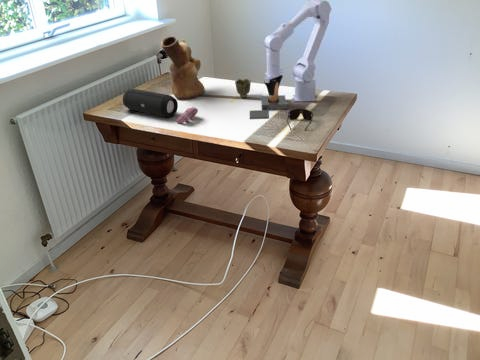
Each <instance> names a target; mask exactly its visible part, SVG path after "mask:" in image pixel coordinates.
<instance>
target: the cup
mask: <svg viewBox="0 0 480 360" xmlns="http://www.w3.org/2000/svg"><path fill="white" fill-rule="evenodd" d="M234 83H235V90H236V92H237V94H239V97H240V98H241V99H245V98H247V97H248V94H249V93H250V91H251V83H252V82H251V80H250V79H248V78H244V79H243V80H242V78H241V79H240V78H238V79H237V80H235V81H234Z"/></svg>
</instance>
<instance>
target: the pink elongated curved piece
mask: <svg viewBox="0 0 480 360" xmlns="http://www.w3.org/2000/svg"><path fill="white" fill-rule="evenodd" d="M198 112H199V109H198V108H196V107H194V106H192V107H189V108H186V109H185V111H183V112H182V113H181V115H180V116H179V117H177V119H176V122H177V123H178V124H182V123H184V122H185V123H188V122H189V121H190V120H193V119H194V117H195V116H196V115H197V114H198Z"/></svg>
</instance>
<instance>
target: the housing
mask: <svg viewBox="0 0 480 360" xmlns="http://www.w3.org/2000/svg"><path fill="white" fill-rule="evenodd" d="M260 98H261V99H260V100H261V101H260V102H261V110H268V111H282V110H287V101H286V100H287V99H286V95H285V94H284V95H278V101H276V102H271V101H269V95H261V97H260Z"/></svg>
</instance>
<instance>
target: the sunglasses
mask: <svg viewBox="0 0 480 360" xmlns="http://www.w3.org/2000/svg"><path fill="white" fill-rule="evenodd" d="M300 114H301V115H302V118H303V119H304V121H310V122H309V123H308V124H307V125H306V127H305V128H304V132H305V131H307V129H308V127H309V126H310V125H311V123H312V122H313V121H312V120H313V117H314V113H313V112H312V111H311V110H310V109H306V108H293V109H291V110H289V112H287V117H286V118H287V120H286V123H287V125H288V127H289V129H290V131H291V130H292V128H291V125H290V123H289V120H293V121H294V120H298V118H299V117H300V116H301V115H300Z"/></svg>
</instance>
